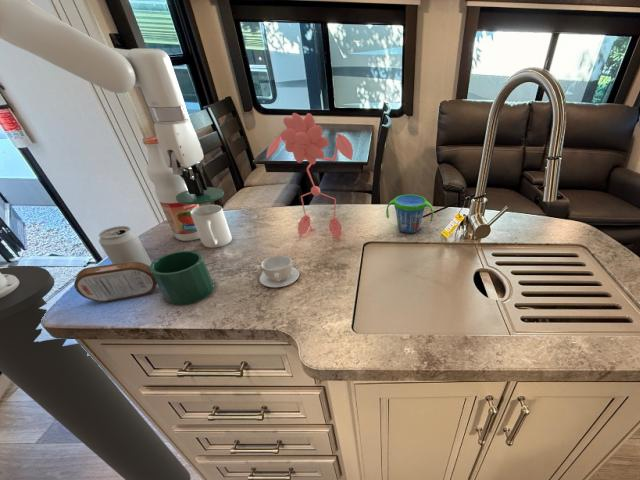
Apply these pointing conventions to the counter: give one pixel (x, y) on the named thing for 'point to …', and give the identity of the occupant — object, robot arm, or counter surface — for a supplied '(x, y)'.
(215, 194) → the tin lid
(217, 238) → the cup
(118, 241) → the can
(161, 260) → the cup
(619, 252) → the counter surface
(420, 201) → the snack cup
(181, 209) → the fruit juice
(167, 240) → the counter surface
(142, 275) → the tin
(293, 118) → the figurine
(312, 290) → the counter surface
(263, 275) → the teacup
